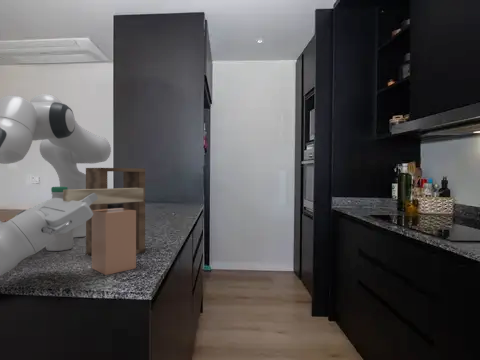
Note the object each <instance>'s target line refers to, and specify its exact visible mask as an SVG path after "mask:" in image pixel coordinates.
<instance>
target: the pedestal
mask: <svg viewBox="0 0 480 360" xmlns="http://www.w3.org/2000/svg"><path fill="white" fill-rule="evenodd" d="M92 212H93V216H92V257H91V269H93V270H94V271H96V272H98V273H100V274H103V275H105V276H107V275H112V274H118V273H121V272H125V271H129V270H134V269H136V268H137V254H136V210H130V209H124V208H115V209H102V210H92Z"/></svg>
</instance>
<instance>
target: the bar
mask: <svg viewBox="0 0 480 360" xmlns="http://www.w3.org/2000/svg"><path fill="white" fill-rule="evenodd" d="M90 193H95V194H96V195H97V197H98V199H97V200H96V201H94V202H93V203H92V204H107V203H123V202H139V201H143V188H123V187H118V188H117V187H116V188H107V189H76V190H63V201H68V202H69V201H71V200H74V201H80V200H82V199H84V198H85V197H86V196H87V195H88V194H90Z"/></svg>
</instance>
